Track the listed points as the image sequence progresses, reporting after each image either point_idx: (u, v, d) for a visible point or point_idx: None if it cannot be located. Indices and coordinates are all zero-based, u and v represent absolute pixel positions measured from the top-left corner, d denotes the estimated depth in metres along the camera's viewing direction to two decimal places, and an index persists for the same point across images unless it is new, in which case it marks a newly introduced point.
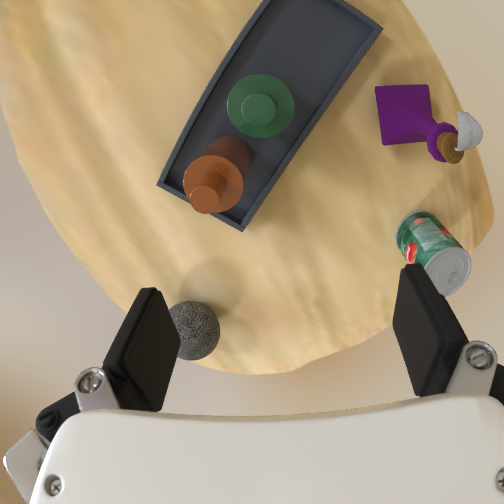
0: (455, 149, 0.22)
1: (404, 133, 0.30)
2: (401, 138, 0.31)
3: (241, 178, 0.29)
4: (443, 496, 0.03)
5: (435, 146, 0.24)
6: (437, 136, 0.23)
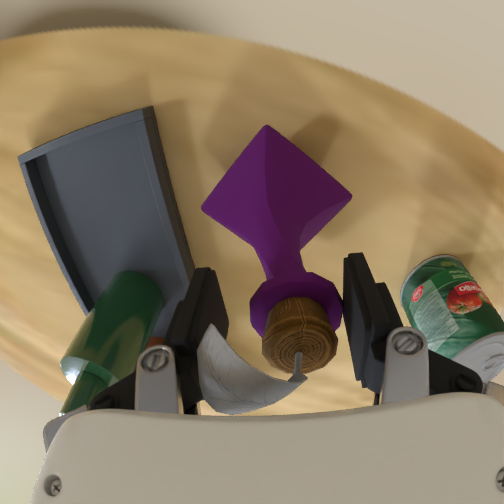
0: None
1: None
2: None
3: None
4: (443, 496, 0.03)
5: None
6: (266, 324, 0.13)
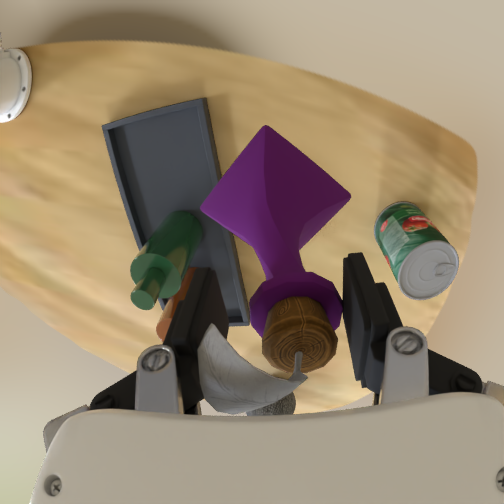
0: None
1: None
2: None
3: None
4: (443, 496, 0.03)
5: None
6: None
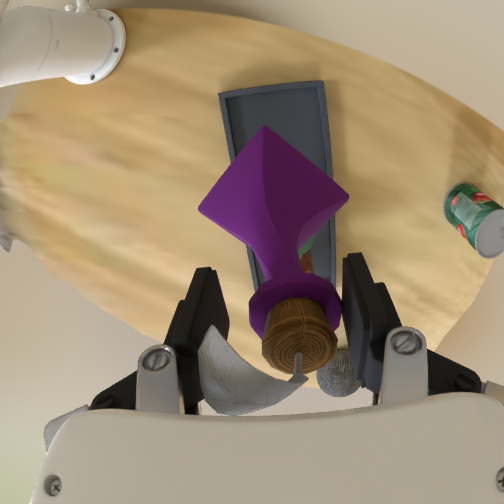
0: None
1: None
2: None
3: None
4: (443, 496, 0.03)
5: None
6: None
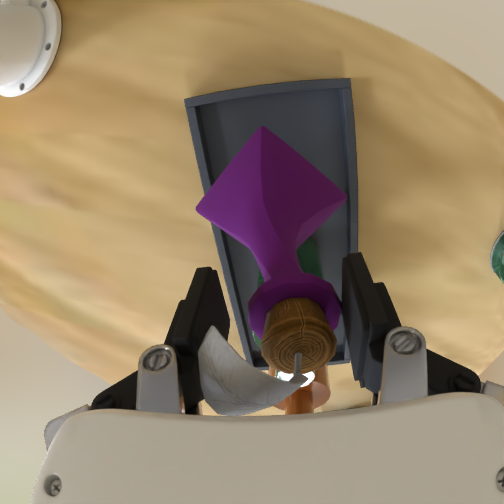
0: None
1: None
2: None
3: (321, 383, 0.25)
4: (443, 496, 0.03)
5: None
6: None
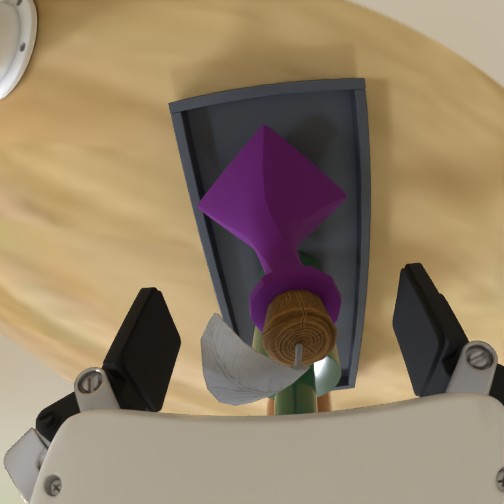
0: None
1: None
2: None
3: None
4: (443, 496, 0.03)
5: None
6: (265, 318, 0.13)
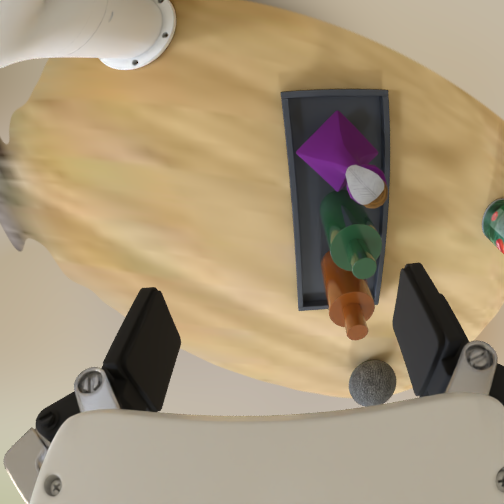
0: None
1: (343, 178, 0.34)
2: (345, 181, 0.35)
3: (369, 296, 0.36)
4: (443, 496, 0.03)
5: None
6: None
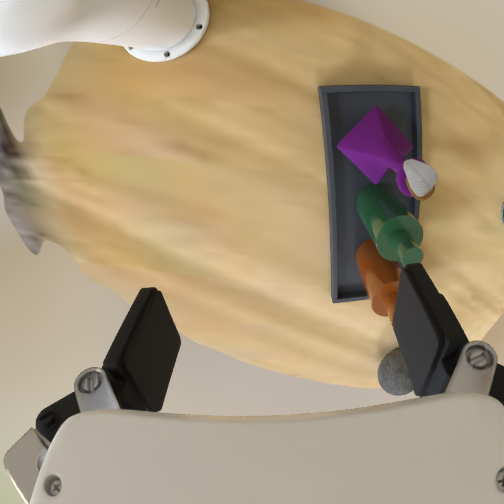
0: None
1: (383, 171, 0.33)
2: (384, 174, 0.34)
3: None
4: (443, 496, 0.03)
5: (408, 189, 0.27)
6: (404, 181, 0.27)
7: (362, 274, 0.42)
